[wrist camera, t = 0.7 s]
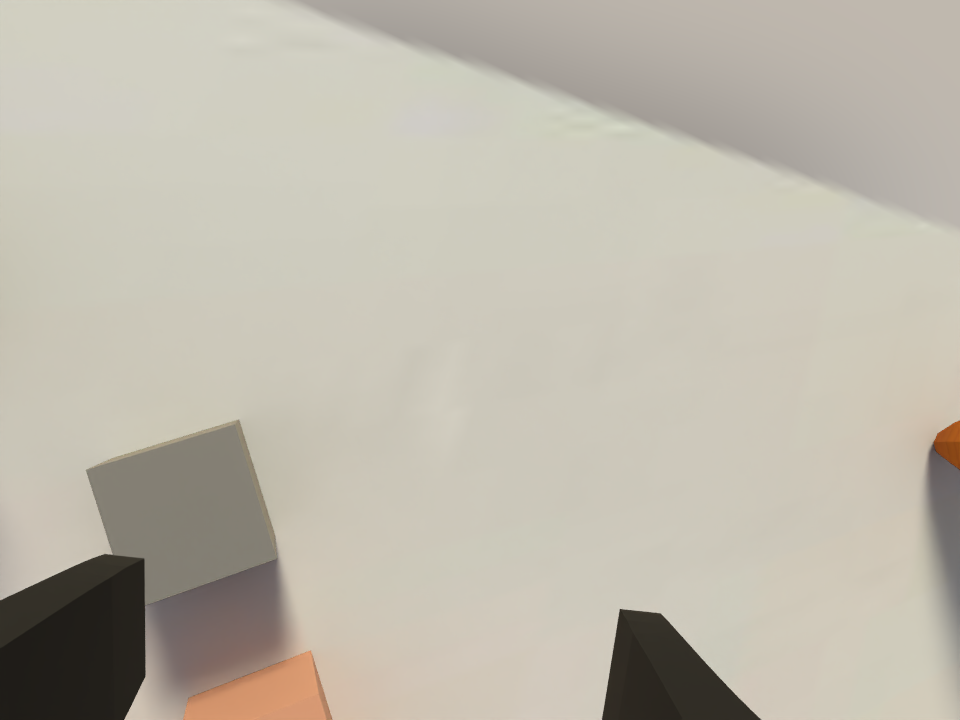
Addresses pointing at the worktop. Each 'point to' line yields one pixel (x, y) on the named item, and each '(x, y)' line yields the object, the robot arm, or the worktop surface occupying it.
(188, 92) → the worktop surface
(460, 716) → the worktop surface
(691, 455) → the worktop surface
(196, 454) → the gray cube
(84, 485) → the worktop surface
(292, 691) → the terracotta cube
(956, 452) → the carrot
